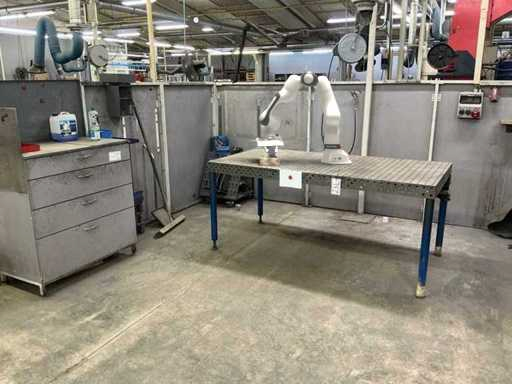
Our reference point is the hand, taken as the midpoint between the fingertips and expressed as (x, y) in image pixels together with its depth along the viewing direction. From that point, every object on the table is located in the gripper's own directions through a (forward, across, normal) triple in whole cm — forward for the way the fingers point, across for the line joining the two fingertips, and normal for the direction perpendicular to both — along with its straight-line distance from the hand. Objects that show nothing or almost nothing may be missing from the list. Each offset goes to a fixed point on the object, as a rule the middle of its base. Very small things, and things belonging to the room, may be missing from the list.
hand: (271, 152), depth 291 cm
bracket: (+5, 0, +2) cm, 5 cm away
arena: (+8, -2, +4) cm, 9 cm away
